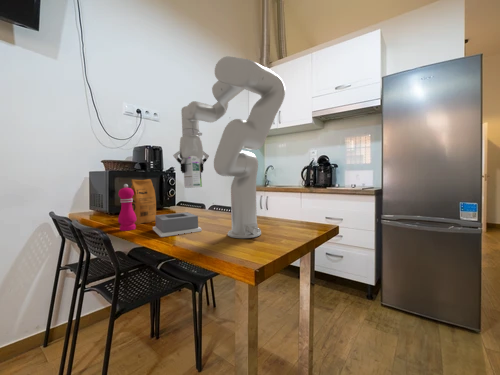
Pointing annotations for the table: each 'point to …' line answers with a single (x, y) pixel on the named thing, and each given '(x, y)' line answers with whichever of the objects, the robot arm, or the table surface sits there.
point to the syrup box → (192, 172)
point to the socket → (176, 224)
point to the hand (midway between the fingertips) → (192, 172)
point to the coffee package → (143, 201)
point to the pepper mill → (126, 209)
